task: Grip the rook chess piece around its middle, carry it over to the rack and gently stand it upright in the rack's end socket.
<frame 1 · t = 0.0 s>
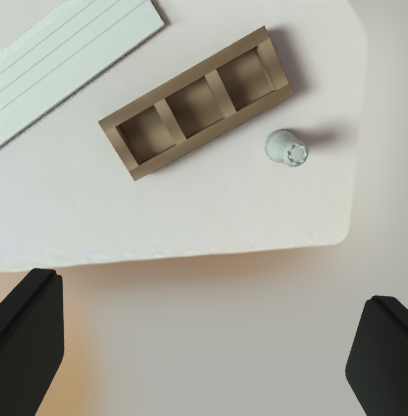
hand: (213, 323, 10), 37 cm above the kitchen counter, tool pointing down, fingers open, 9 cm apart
rook chess piece: (279, 145, 46), on the kitchen counter
rack: (195, 107, 44), on the kitchen counter
baseboard: (47, 60, 42), on the kitchen counter
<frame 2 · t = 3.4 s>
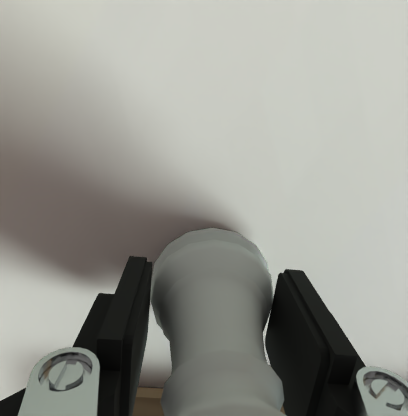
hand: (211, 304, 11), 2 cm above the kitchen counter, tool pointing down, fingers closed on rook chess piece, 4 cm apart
rook chess piece: (209, 273, 13), on the kitchen counter, touching gripper
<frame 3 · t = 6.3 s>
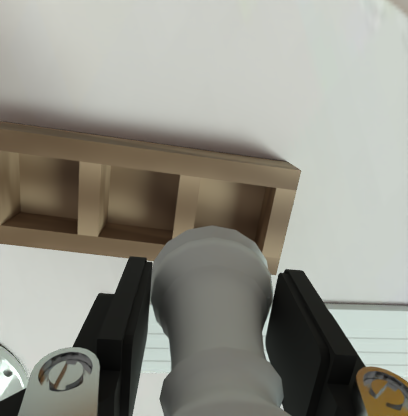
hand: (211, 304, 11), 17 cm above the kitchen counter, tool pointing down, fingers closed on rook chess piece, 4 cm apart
rook chess piece: (209, 271, 13), point 15 cm above the kitchen counter, touching gripper
rack: (144, 193, 27), on the kitchen counter
baseboard: (273, 339, 34), on the kitchen counter
when the fingers open (5 cm above the kitchen counter, at t = 9.3 s): rook chess piece drops 2 cm, resting on rack.
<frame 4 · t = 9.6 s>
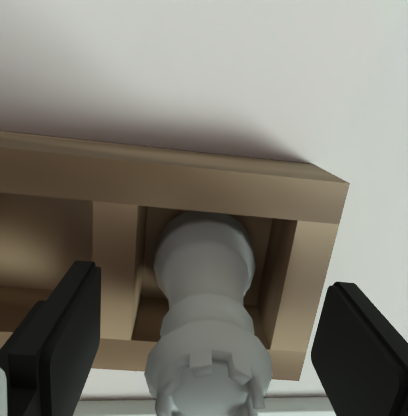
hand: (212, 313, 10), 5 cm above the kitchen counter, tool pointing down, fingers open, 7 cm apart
rook chess piece: (203, 248, 15), resting on rack
rack: (52, 230, 15), on the kitchen counter
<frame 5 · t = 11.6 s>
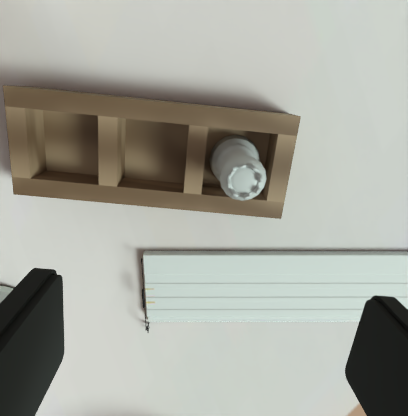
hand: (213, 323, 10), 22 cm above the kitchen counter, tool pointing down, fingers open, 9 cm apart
rook chess piece: (233, 158, 30), resting on rack
rack: (157, 149, 30), on the kitchen counter
baseboard: (285, 288, 36), on the kitchen counter
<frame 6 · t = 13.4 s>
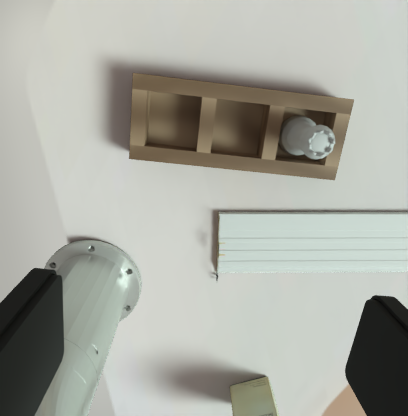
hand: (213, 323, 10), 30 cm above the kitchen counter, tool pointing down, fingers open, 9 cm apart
skincare box: (251, 390, 51), on the kitchen counter
rook chess piece: (295, 134, 38), resting on rack
rack: (235, 127, 38), on the kitchen counter
baseboard: (328, 244, 44), on the kitchen counter
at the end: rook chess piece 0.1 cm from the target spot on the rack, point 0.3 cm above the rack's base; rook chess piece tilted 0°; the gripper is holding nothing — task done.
